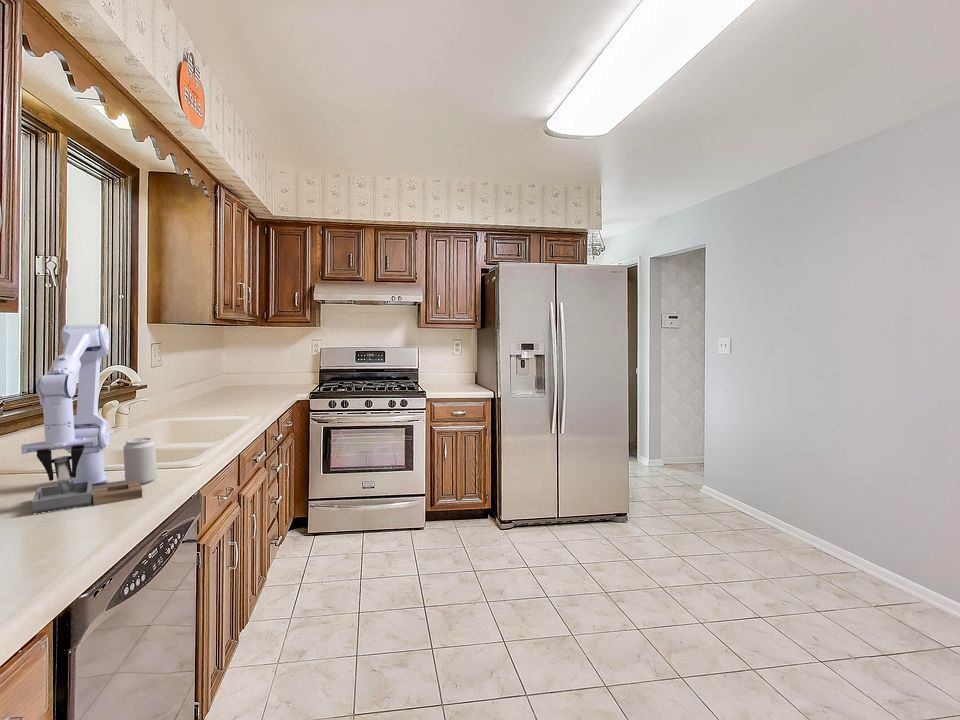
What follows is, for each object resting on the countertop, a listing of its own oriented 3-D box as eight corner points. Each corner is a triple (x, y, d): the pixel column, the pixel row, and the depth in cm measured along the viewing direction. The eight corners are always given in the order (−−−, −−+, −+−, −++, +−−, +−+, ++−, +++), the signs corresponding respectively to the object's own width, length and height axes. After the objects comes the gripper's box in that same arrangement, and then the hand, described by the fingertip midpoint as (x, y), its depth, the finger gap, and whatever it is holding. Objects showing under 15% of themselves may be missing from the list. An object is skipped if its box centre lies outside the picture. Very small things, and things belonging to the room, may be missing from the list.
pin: (57, 492, 133) (51, 458, 132) (77, 487, 135) (71, 454, 134) (56, 496, 130) (50, 461, 129) (76, 491, 132) (71, 457, 131)
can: (121, 487, 145) (118, 443, 144) (131, 479, 152) (128, 437, 151) (152, 484, 147) (150, 441, 146) (160, 476, 154) (158, 435, 153)
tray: (38, 499, 135) (37, 487, 135) (92, 491, 141) (91, 480, 141) (32, 514, 124) (31, 502, 124) (91, 505, 130) (90, 493, 130)
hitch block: (94, 494, 138) (94, 486, 138) (140, 487, 144) (140, 480, 144) (93, 505, 130) (93, 497, 130) (142, 497, 136) (141, 489, 136)
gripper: (18, 429, 124) (22, 487, 125) (95, 422, 132) (98, 476, 133) (22, 424, 129) (26, 480, 130) (96, 418, 138) (99, 470, 139)
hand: (62, 478), depth 132 cm, fingers closed on pin, 4 cm apart
